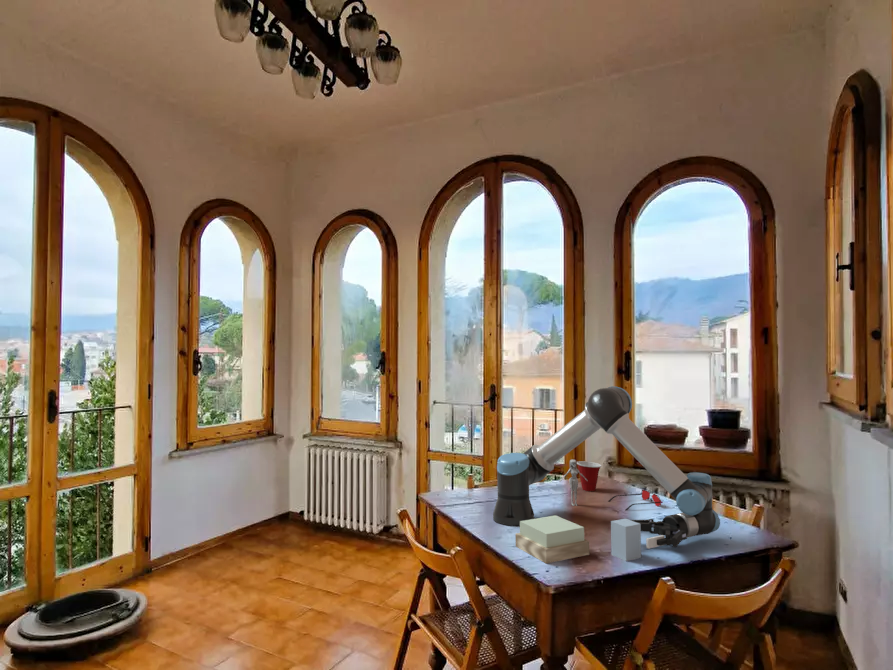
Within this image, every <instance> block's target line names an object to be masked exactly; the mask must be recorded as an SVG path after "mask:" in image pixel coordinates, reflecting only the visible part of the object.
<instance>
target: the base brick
mask: <svg viewBox="0 0 893 670" xmlns="http://www.w3.org/2000/svg"><path fill="white" fill-rule="evenodd" d="M515 547H516V548H517V549H519V550H521V551H523V552H525V553H526V554H529V555H530V556H532V557H533V558H536V559H537V560H539V561H541V562H543V563H545V564H550V563H551V564H552V563H556V562H560V561H564V560H565V561H566V560H570V559H574V558H578V557H579V558H580V557H584V556H589V555H590V541H589V540H588V539H585V538H584V541H580V542H575V543H570V544H565V545H560V546H555V547H549V548H546V547H544V546H542V545H540V544H538V543H536V542H534V541H532V540H530V539H528V538H527V537H525V536H523V535H521V534H520V532H518V533H515Z"/></svg>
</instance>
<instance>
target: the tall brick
mask: <svg viewBox="0 0 893 670" xmlns="http://www.w3.org/2000/svg"><path fill="white" fill-rule="evenodd" d="M631 520H632V519H628V518H621V519H617V520H615V519H614V520H610V543H611V544H610V545H611V546H610V547H611V554H610V555H612V556H613V557H615V558H618V559H620V560H623V561H624V562H629V561H634V560H639V559H641V558H642V537H641V536H642V535H641V534H642V531H641V524H639V523H637V522H634V521H631Z"/></svg>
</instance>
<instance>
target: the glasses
mask: <svg viewBox="0 0 893 670" xmlns="http://www.w3.org/2000/svg"><path fill="white" fill-rule="evenodd" d="M651 494H652V495H651ZM627 496H641V498H642V501H645V500H649V501H650V502H640V503H632V504H631V505H629V506H628V507H627V508H626V509H625V510H624V511H628V510H629V509H630V508H631V507H632V506H634V505H648V504H649V505H650V504H651V505H652V504H654V505H655V506H656V507H660V506H661V505H662V504H663V501H662V500H661V497H660V496H659V495H657V494H656V493H653V492H650V491H649V490H646V489H642V490H641V492H640V493H632V494H631V493H630V494H620V495H619V494H618V495H617V494H616V495H614V496H612V497H611V498H610V499H609V500H607V502H611V501H613V499H614V498H616V497H627Z"/></svg>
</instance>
